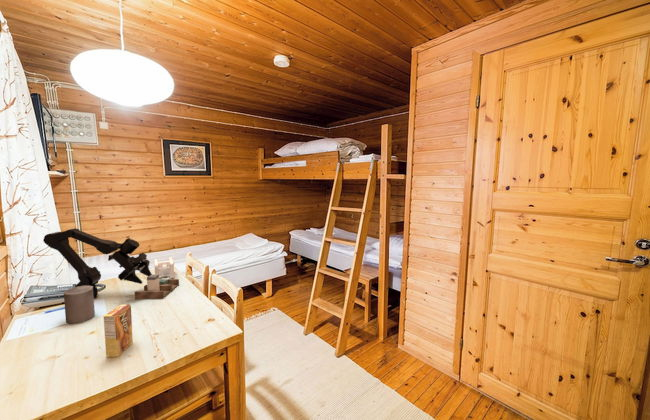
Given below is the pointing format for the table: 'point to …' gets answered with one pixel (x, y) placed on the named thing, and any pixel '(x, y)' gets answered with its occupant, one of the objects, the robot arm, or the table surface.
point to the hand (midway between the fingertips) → (147, 280)
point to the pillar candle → (79, 304)
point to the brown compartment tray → (165, 289)
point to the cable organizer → (164, 268)
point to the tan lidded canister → (153, 283)
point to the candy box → (118, 330)
